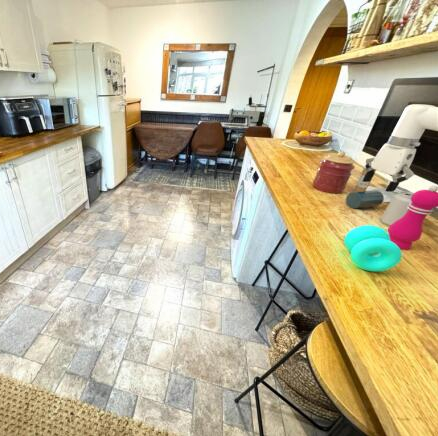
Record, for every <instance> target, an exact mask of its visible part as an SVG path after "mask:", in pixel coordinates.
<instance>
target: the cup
mask: <svg viewBox="0 0 438 436" xmlns="http://www.w3.org/2000/svg"><path fill="white" fill-rule="evenodd" d="M384 200H385V197H384V194H383V193H382V191H380V190H377V189H376V190H375V189H374V190H366V191H362V192H353V191H352V192H350V193H348V194H347V195H346V197H345V203H346V205H347V206H348V207H349V208H351V209H358V208H361V209H362V208H369V207H370V208H372V207H378V206H380V205H383V202H384Z"/></svg>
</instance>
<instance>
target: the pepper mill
mask: <svg viewBox="0 0 438 436" xmlns="http://www.w3.org/2000/svg"><path fill="white" fill-rule="evenodd" d="M413 193H414V194H413V195H412V196H411V201H412V203H410V204H409V206H408V207H407V208H408V211H407V213H406V214H405V215H404V216H403V217H402V218H401V219H399V220H397V221H396V222H394V223H393V224H392V225H390V227H389V226H388V228H387V233H388V234H389V236H390V241H391V242H393V243H395V244H396V245H397V246H398V247H399V248H400V250H401V251H403V250H404V251H408V250H411V247H412V246H413V243H414V242H417V241H419V240H420V239H421V237H422V235H423V222H424V220H425V219H426V217H427V216H428V215H431V214H432V212H434V208H438V185H430V186H429V187H428V189H419V190H417V191H415V192H413Z"/></svg>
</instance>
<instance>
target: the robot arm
mask: <svg viewBox="0 0 438 436" xmlns="http://www.w3.org/2000/svg"><path fill="white" fill-rule="evenodd" d="M426 129H427V130H431V131H436V132H438V106H435V105H432V104H424V103H423V104H420V103H413V104H409V105H407V106H406V107H405V108H404V110H403V112H402V114H401V115H400V118H399V120H398V121H397V123H396V125H395V127H394V128H393V131H392V133H391V135H390V136H389V138H388V140H387V142H386V143H384V144H383V145H382V147H381V148H380V149H379V151H378V152H377V153H376V155H375V157H371V158H367V159H365V164H366V165H365V164H364V166H366V172H367V173H366V175H365V176H364V179H363V182H370V181H371V182H372V179H373V177H374V175H375V173H376V171H377V172H380V173H382V174H385V175H389V176H391V179H392V181H390V182H389V183H388V185H387V187H386V189H385V192H387V193H388V192H389V193H391V192H395V191H396V190H397V188H398V186H399V185H400V184H401V183H403V182H405V181H408V180H409V179H410V178H412V177H413V176H415V173H414V171H412V170H411V168H410V167H411V165H412V163H413V161H414V158H415V156H416V153H417V148H416V147H419V146H420V145H421V142H420V139H421V137H422V135H423V134H424V132H425V130H426ZM371 163H372V164H371ZM374 171H375V172H374ZM371 182H370V183H371Z"/></svg>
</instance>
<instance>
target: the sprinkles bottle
mask: <svg viewBox="0 0 438 436" xmlns="http://www.w3.org/2000/svg"><path fill="white" fill-rule="evenodd" d="M371 164H372V163H371ZM365 165H366V163H364V166H363V169H362V171H361V173H360V175H359V177H358V179H357V181H356V183H355V185H354V188H353V189H352V192H362V191H367V189H368V188H369V186H370V184H371V182H372V180H371V181H370V182H363V179H364V176H365V175H366V173H367V172H366V166H365ZM374 172H375V173H376V171H374Z"/></svg>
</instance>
